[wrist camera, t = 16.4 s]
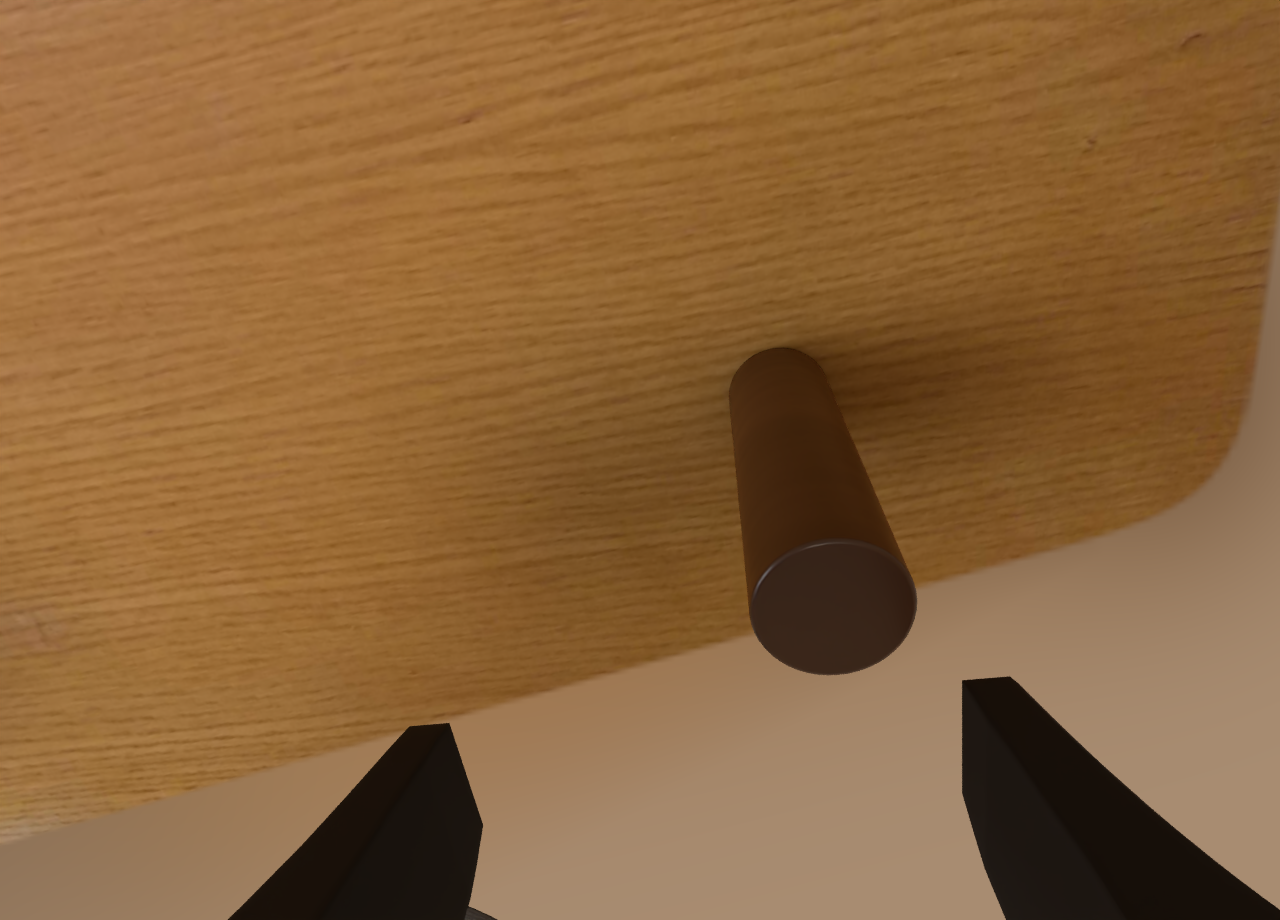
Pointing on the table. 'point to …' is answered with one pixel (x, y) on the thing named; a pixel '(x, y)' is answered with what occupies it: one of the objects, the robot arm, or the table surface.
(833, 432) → the brown wooden dowel
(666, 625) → the table surface
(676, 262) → the table surface
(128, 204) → the table surface
